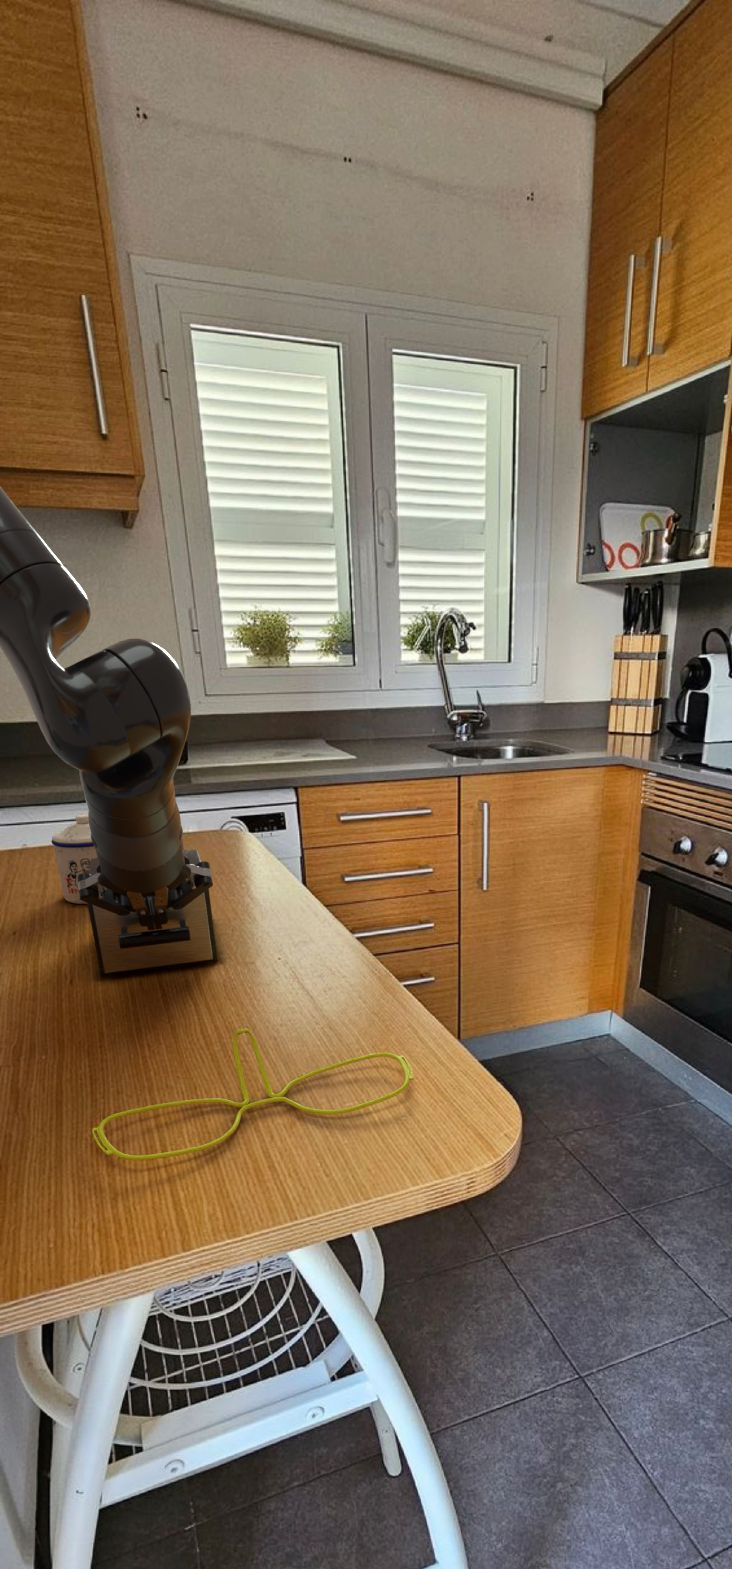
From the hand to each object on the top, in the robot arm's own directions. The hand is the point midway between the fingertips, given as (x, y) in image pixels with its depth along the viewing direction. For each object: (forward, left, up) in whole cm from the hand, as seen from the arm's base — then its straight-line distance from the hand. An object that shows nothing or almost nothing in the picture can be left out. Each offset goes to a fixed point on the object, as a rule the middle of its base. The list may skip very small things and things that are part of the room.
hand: (153, 922), depth 90 cm
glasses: (+21, -24, -7) cm, 33 cm away
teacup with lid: (-23, +28, -7) cm, 37 cm away
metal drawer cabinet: (-5, +9, -6) cm, 12 cm away
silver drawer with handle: (-3, +5, -5) cm, 8 cm away
